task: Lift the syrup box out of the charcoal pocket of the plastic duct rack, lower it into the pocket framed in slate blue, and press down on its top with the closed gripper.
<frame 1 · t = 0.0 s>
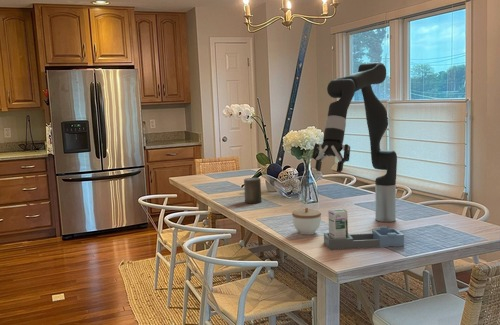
hand: (328, 171, 176), 31 cm above the table, tool tilted 20°, fingers open, 8 cm apart
duct rack: (363, 244, 190), on the table
lidded bowl: (307, 232, 210), on the table
pillar candle: (253, 202, 276), on the table
syrup box: (338, 246, 189), resting in duct rack
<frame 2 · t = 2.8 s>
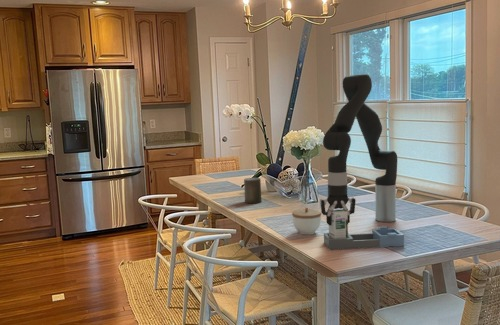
hand: (338, 224, 188), 9 cm above the table, tool pointing down, fingers closed on syrup box, 6 cm apart
syrup box: (338, 246, 189), resting in duct rack, touching gripper
everything else where it was.
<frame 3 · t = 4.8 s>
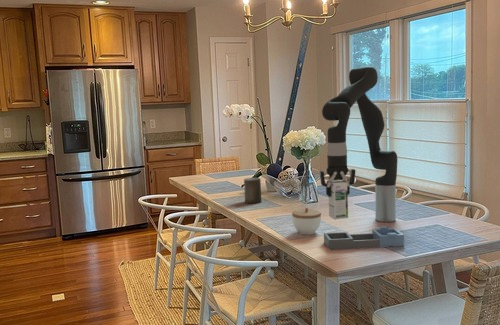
hand: (337, 195, 187), 20 cm above the table, tool pointing down, fingers closed on syrup box, 6 cm apart
syrup box: (338, 217, 188), point 11 cm above the table, touching gripper
everything else where it was.
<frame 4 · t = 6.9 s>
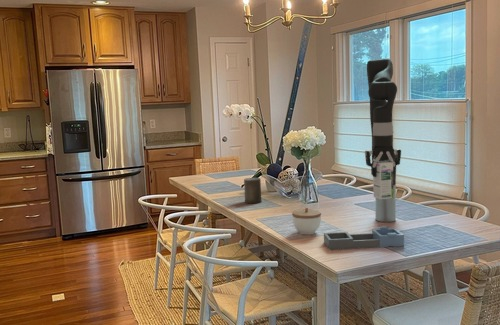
hand: (383, 176, 187), 27 cm above the table, tool pointing down, fingers closed on syrup box, 6 cm apart
syrup box: (383, 198, 188), point 18 cm above the table, touching gripper
everything else where it was.
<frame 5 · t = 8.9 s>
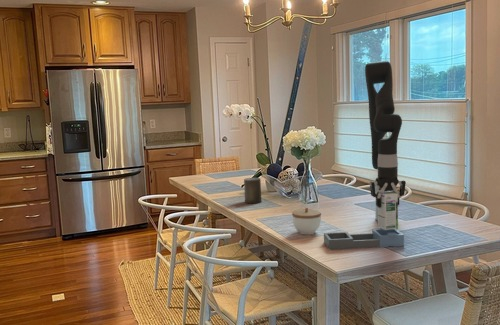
hand: (387, 206, 188), 15 cm above the table, tool pointing down, fingers closed on syrup box, 6 cm apart
syrup box: (387, 228, 189), point 6 cm above the table, touching gripper
everything else where it was.
when the fingers open (10 cm above the table, at t = 10.8 s): syrup box drops 1 cm, resting in duct rack.
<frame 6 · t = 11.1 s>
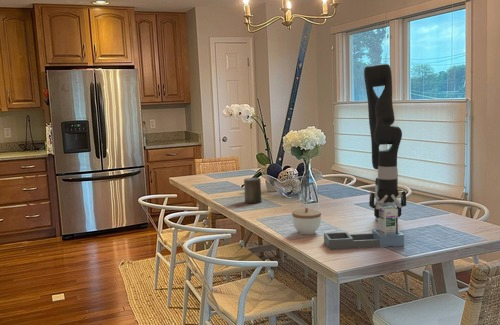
hand: (387, 217, 189), 11 cm above the table, tool pointing down, fingers open, 8 cm apart
syrup box: (387, 243, 190), resting in duct rack
everything else where it was.
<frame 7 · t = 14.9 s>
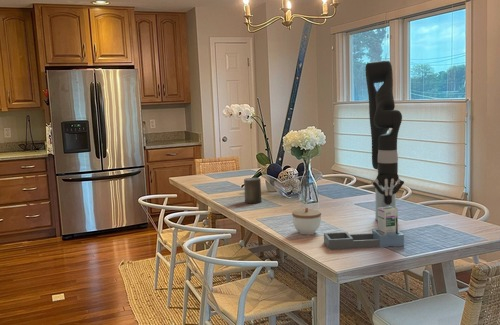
hand: (387, 204, 188), 16 cm above the table, tool pointing down, fingers closed
nothing on the table moved.
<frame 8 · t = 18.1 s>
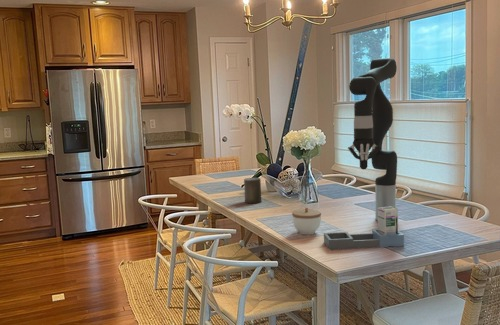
hand: (363, 169, 195), 29 cm above the table, tool pointing down, fingers closed
nothing on the table moved.
at the end: syrup box 0.1 cm from the target spot, resting in duct rack; syrup box tilted 0°; the gripper is holding nothing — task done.
